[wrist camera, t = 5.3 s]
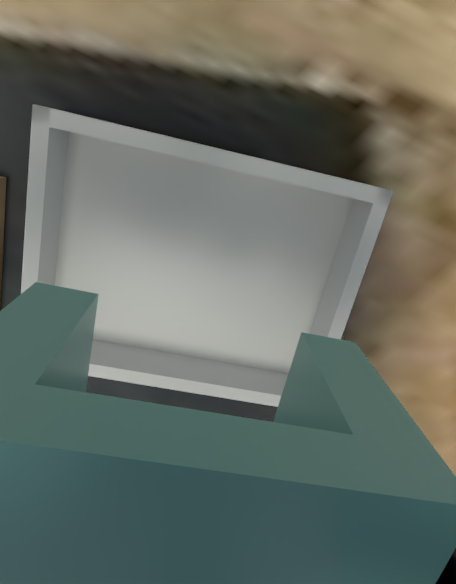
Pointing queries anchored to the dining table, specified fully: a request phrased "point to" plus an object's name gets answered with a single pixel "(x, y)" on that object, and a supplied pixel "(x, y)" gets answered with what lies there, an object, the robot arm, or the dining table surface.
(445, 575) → the robot arm
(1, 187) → the board
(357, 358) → the teal notched block
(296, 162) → the dining table surface
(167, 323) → the tray
